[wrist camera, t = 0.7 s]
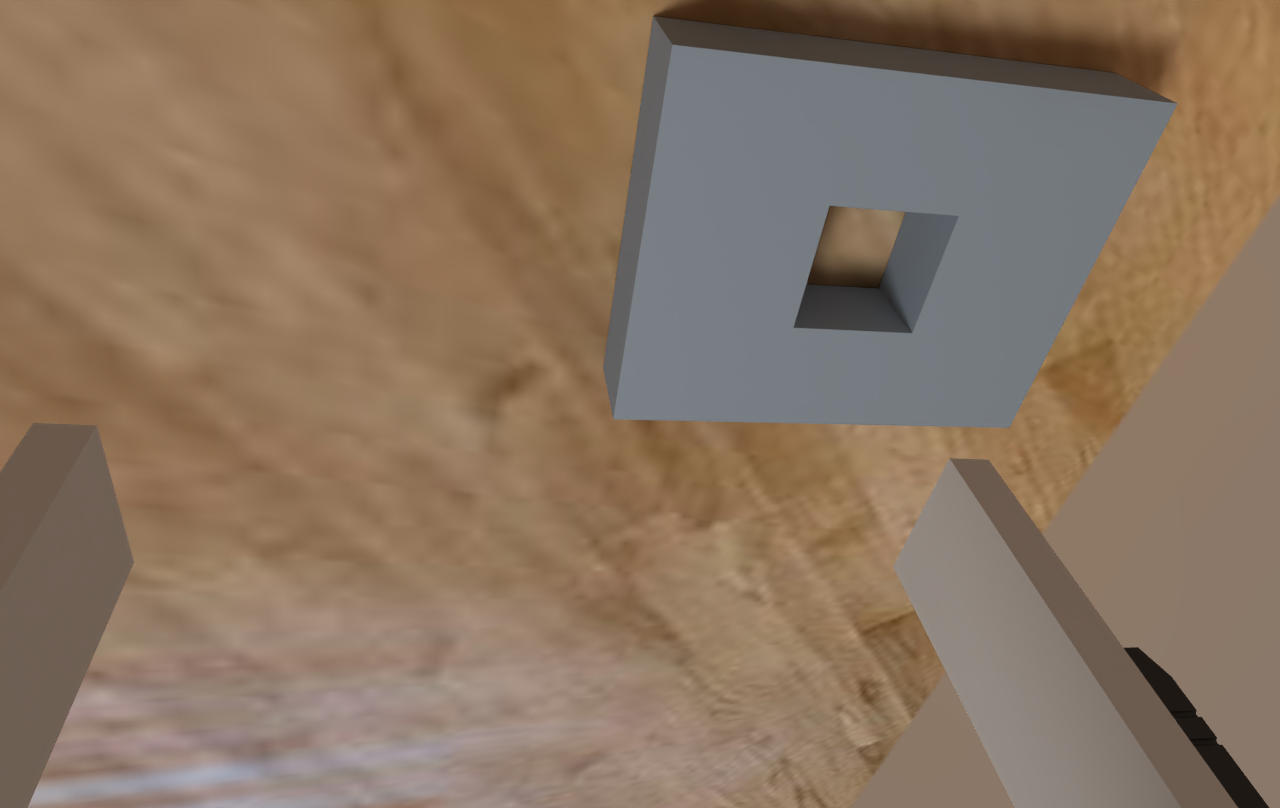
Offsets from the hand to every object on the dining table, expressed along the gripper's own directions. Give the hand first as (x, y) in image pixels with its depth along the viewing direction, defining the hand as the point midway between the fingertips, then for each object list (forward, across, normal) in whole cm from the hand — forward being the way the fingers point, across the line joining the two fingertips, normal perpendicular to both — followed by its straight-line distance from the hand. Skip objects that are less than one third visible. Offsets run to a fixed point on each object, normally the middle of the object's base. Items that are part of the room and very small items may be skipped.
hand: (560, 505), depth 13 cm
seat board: (+23, +15, -5) cm, 28 cm away
